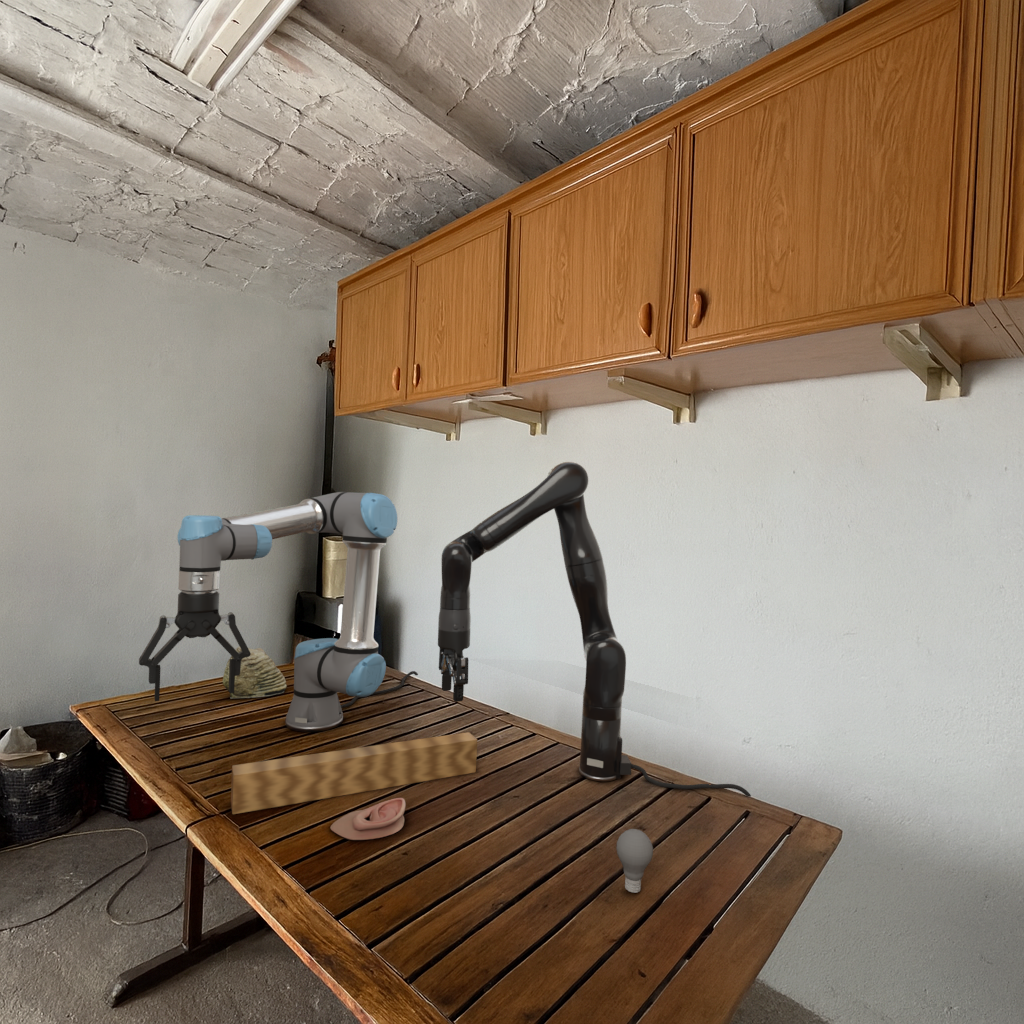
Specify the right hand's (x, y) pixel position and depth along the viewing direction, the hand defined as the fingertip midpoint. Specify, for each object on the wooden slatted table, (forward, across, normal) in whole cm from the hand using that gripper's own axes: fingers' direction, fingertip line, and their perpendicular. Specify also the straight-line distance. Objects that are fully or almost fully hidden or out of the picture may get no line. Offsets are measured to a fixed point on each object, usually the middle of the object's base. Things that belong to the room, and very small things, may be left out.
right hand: (452, 695), depth 149 cm
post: (+18, -1, +21) cm, 27 cm away
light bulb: (+18, -54, -14) cm, 59 cm away
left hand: (-4, +3, +54) cm, 55 cm away
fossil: (+18, +72, +40) cm, 84 cm away
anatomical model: (+18, -19, +23) cm, 34 cm away
